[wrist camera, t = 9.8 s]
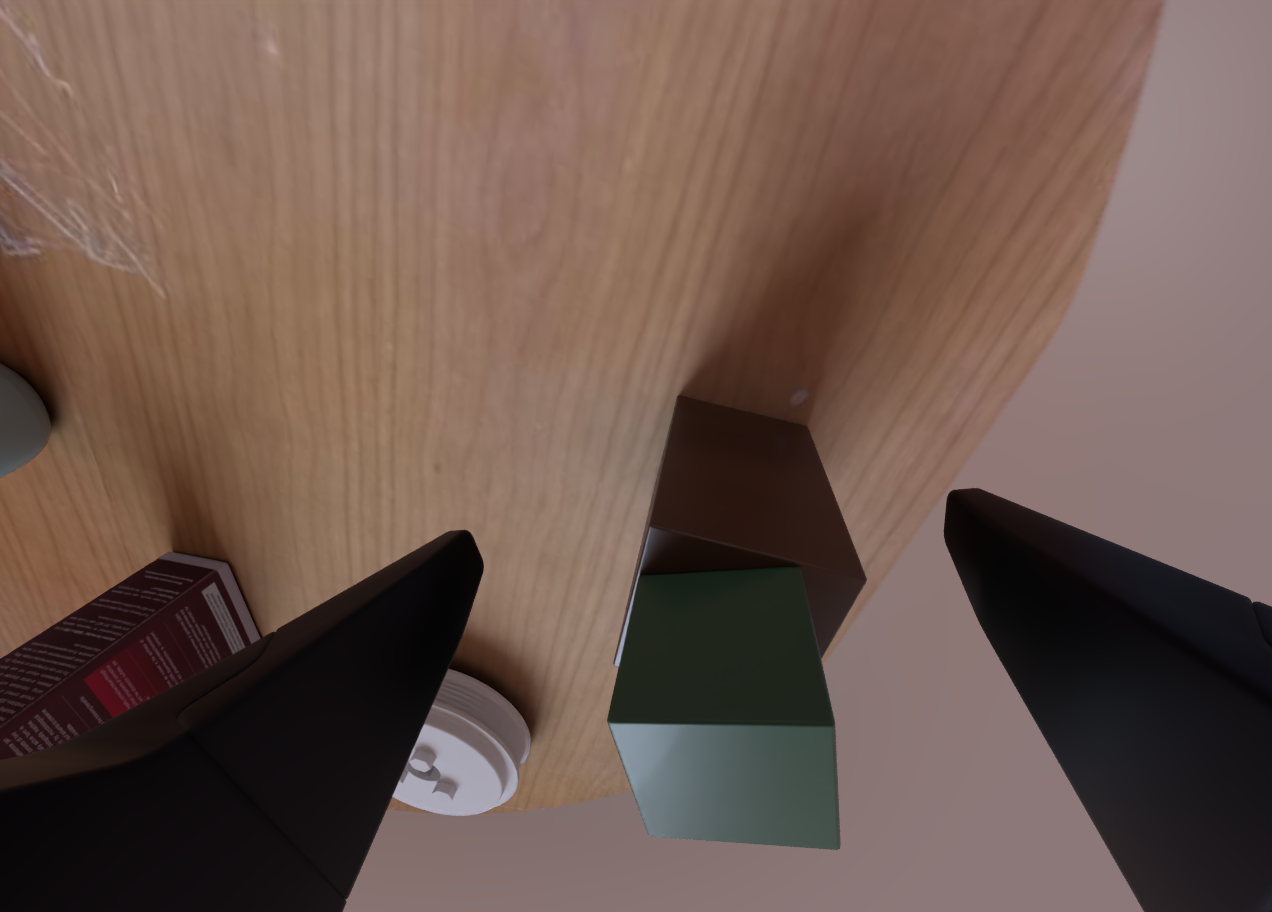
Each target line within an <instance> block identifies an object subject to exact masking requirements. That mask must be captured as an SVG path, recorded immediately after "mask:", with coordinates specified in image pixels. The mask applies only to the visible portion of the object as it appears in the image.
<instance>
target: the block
mask: <svg viewBox="0 0 1272 912" xmlns="http://www.w3.org/2000/svg"><path fill="white" fill-rule="evenodd" d="M607 722H608V725H609V728H610V731H611V734H612V736H613V739H614V742H615V745H616V747H617V750H618V753H619V756H620V758H621V761H622V764H623V767H624V769H625V772H626V775H627V778H628V780H629V783H630V786H631V789H632V791H633V794H634V797H635V800H636V802H637V805H638V808H639V811H640V813H641V816H642V819H643V822H644V825H645V827H646V830H647V832H648V835H649V836H652V837H665V838H679V839H693V840H707V841H722V842H736V843H749V844H763V845H778V846H791V847H805V848H819V849H833V850H837V849H840V825H839V824H840V823H839V800H838V779H837V778H838V777H837V753H836V730H835V720H834V716H833V711H832V707H831V702H830V698H829V693H828V688H827V684H826V679H825V675H824V671H823V666H822V661H821V657H820V652H819V647H818V643H817V638H816V634H815V629H814V625H813V620H812V616H811V611H810V606H809V602H808V597H807V593H806V588H805V584H804V579H803V575H802V570H801V568H800V567H798V566H795V567H778V568H761V569H744V570H726V571H709V572H692V573H675V574H658V575H641V576H639V577H638V582H637V586H636V591H635V595H634V600H633V605H632V609H631V614H630V618H629V623H628V627H627V632H626V637H625V641H624V646H623V650H622V655H621V659H620V664H619V669H618V673H617V678H616V682H615V687H614V691H613V696H612V701H611V705H610V710H609V714H608V719H607Z"/></svg>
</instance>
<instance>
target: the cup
mask: <svg viewBox="0 0 1272 912" xmlns="http://www.w3.org/2000/svg"><path fill="white" fill-rule="evenodd" d="M50 433H51V423H50V418H49V414H48V411H47V409H46V407H45V405H44V403H43V401H42V400H41V398H40V397H39V395H38V394H37V392H36V391H35V390H34V389H33V387H32V386H31V385H30V384H29V383H28V382H27V381H26V380H25V379H23V378H22V377H21V376H20V375H19V374H17V373H16V372H14V371H13V370H11V369H10V368H8V367H6V366H4V365H3V364H1V363H0V478H1V477H3V476H5V475H7V474H9V473H11V472H13V471H15V470H17V469H18V468H20V467H22V466H23V465H25V464H27V463H28V462H30V461H31V460H32V459H33V458H35V457H36V456H37V455H38V454H39V453H40V452H41V451H42V450H43V448H44V447H45V446H46V444H47V442H48V440H49V438H50Z"/></svg>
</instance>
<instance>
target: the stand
mask: <svg viewBox="0 0 1272 912" xmlns="http://www.w3.org/2000/svg"><path fill="white" fill-rule="evenodd" d="M795 566H798V567H800V568H801V570H802V575H803V579H804V584H805V588H806V593H807V597H808V602H809V606H810V611H811V616H812V620H813V625H814V629H815V634H816V638H817V643H818V647H819V652H820V657H821V659H822V657H823V655H824V654H825V652H826V650H827V648H828V647H829V645H830V643H831V642H832V640H833V638H834V636H835V635H836V633H837V631H838V629H839V628H840V626H841V624H842V623H843V621H844V619H845V617H846V616H847V614H848V612H849V610H850V609H851V607H852V605H853V604H854V602H855V600H856V598H857V597H858V595H859V593H860V591H861V590H862V588H863V586H864V585H865V583H866V581H867V578H866V576H865V573H864V571H863V568H862V565H861V563H860V560H859V558H858V555H857V552H856V550H855V547H854V545H853V542H852V540H851V537H850V534H849V532H848V529H847V527H846V524H845V522H844V519H843V516H842V514H841V511H840V509H839V506H838V503H837V501H836V498H835V496H834V493H833V491H832V488H831V485H830V483H829V480H828V478H827V475H826V472H825V470H824V467H823V465H822V462H821V460H820V457H819V454H818V452H817V449H816V447H815V444H814V442H813V439H812V436H811V434H810V431H809V429H808V427H807V426H803V425H799V424H795V423H791V422H786V421H782V420H778V419H774V418H770V417H766V416H761V415H757V414H753V413H749V412H745V411H740V410H736V409H732V408H728V407H724V406H720V405H715V404H711V403H707V402H703V401H699V400H694V399H690V398H686V397H682V396H678V397H677V400H676V404H675V408H674V412H673V416H672V420H671V424H670V428H669V432H668V436H667V440H666V444H665V448H664V451H663V455H662V459H661V463H660V467H659V471H658V475H657V479H656V483H655V487H654V491H653V495H652V499H651V503H650V508H649V512H648V516H647V521H646V525H645V529H644V534H643V538H642V542H641V546H640V551H639V555H638V559H637V564H636V568H635V572H634V577H633V581H632V585H631V589H630V594H629V598H628V602H627V607H626V611H625V615H624V619H623V624H622V628H621V632H620V637H619V641H618V645H617V650H616V654H615V658H614V662H613V664H614V666H616V667H619V664H620V659H621V655H622V650H623V646H624V641H625V637H626V632H627V627H628V623H629V618H630V614H631V609H632V605H633V600H634V595H635V591H636V586H637V582H638V577H639V576H641V575H658V574H675V573H692V572H709V571H726V570H744V569H761V568H778V567H795Z"/></svg>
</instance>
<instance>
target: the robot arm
mask: <svg viewBox="0 0 1272 912" xmlns="http://www.w3.org/2000/svg"><path fill="white" fill-rule="evenodd" d="M944 538H945V543H946V546H947V548H948V550H949V553H950V555H951V557H952V560H953V562H954V565H955V567H956V569H957V572H958V574H959V576H960V579H961V581H962V584H963V586H964V588H965V591H966V593H967V595H968V598H969V600H970V603H971V605H972V607H973V609H974V612H975V614H976V616H977V618H978V621H979V623H980V625H981V627H982V629H983V631H984V632H985V634H986V636H987V638H988V640H989V641H990V643H991V645H992V647H993V648H994V650H995V652H996V654H997V655H998V657H999V659H1000V661H1001V662H1002V664H1003V666H1004V668H1005V669H1006V671H1007V673H1008V675H1009V676H1010V678H1011V680H1012V682H1013V683H1014V685H1015V687H1016V689H1017V690H1018V692H1019V694H1020V696H1021V697H1022V699H1023V701H1024V703H1025V704H1026V706H1027V708H1028V710H1029V711H1030V713H1031V715H1032V717H1033V718H1034V720H1035V722H1036V724H1037V725H1038V727H1039V729H1040V730H1041V732H1042V734H1043V736H1044V738H1045V739H1046V741H1047V743H1048V745H1049V746H1050V748H1051V750H1052V751H1053V753H1054V755H1055V757H1056V758H1057V760H1058V762H1059V763H1060V765H1061V767H1062V769H1063V771H1064V772H1065V774H1066V776H1067V778H1068V779H1069V781H1070V783H1071V785H1072V786H1073V788H1074V790H1075V792H1076V793H1077V795H1078V797H1079V799H1080V800H1081V802H1082V804H1083V806H1084V807H1085V809H1086V811H1087V813H1088V814H1089V816H1090V818H1091V820H1092V821H1093V823H1094V825H1095V827H1096V828H1097V830H1098V832H1099V834H1100V835H1101V837H1102V839H1103V840H1104V842H1105V844H1106V846H1107V848H1108V849H1109V851H1110V853H1111V854H1112V856H1113V858H1114V860H1115V862H1116V863H1117V865H1118V867H1119V869H1120V870H1121V872H1122V874H1123V876H1124V877H1125V879H1126V881H1127V882H1128V884H1129V886H1130V888H1131V890H1132V891H1133V893H1134V895H1135V897H1136V898H1137V900H1138V902H1139V904H1140V905H1141V907H1142V909H1143V911H1144V912H1272V607H1271V606H1268V605H1266V604H1264V603H1261V602H1253V603H1252V602H1251V600H1250V599H1249V598H1248V597H1246V596H1243V595H1241V594H1238V593H1236V592H1234V591H1231V590H1229V589H1226V588H1224V587H1221V586H1219V585H1216V584H1214V583H1211V582H1209V581H1206V580H1204V579H1201V578H1199V577H1196V576H1194V575H1192V574H1189V573H1187V572H1184V571H1182V570H1179V569H1177V568H1174V567H1172V566H1169V565H1167V564H1164V563H1162V562H1159V561H1157V560H1154V559H1152V558H1150V557H1147V556H1145V555H1142V554H1139V553H1137V552H1135V551H1132V550H1130V549H1127V548H1125V547H1122V546H1120V545H1117V544H1115V543H1112V542H1110V541H1107V540H1105V539H1102V538H1100V537H1098V536H1095V535H1093V534H1090V533H1088V532H1085V531H1083V530H1080V529H1078V528H1075V527H1073V526H1071V525H1068V524H1066V523H1063V522H1061V521H1058V520H1055V519H1053V518H1051V517H1048V516H1046V515H1043V514H1041V513H1038V512H1036V511H1033V510H1031V509H1028V508H1026V507H1023V506H1021V505H1019V504H1016V503H1014V502H1011V501H1009V500H1006V499H1004V498H1001V497H999V496H996V495H994V494H991V493H989V492H986V491H984V490H982V489H979V488H971V489H959V490H952V491H951V492H950V493H949V494H948V497H947V503H946V513H945V523H944ZM483 570H484V563H483V559H482V557H481V554H480V552H479V550H478V547H477V545H476V543H475V540H474V538H473V536H472V534H471V533H470V532H469V531H467V530H456V531H449V532H446V533H445V534H443V535H441V536H439V537H438V538H436V539H434V540H432V541H431V542H429V543H427V544H425V545H424V546H422V547H420V548H418V549H417V550H415V551H413V552H411V553H410V554H408V555H406V556H404V557H403V558H401V559H399V560H397V561H396V562H394V563H392V564H390V565H389V566H387V567H385V568H383V569H382V570H380V571H378V572H376V573H375V574H373V575H371V576H369V577H368V578H366V579H364V580H362V581H361V582H359V583H357V584H355V585H354V586H352V587H350V588H348V589H347V590H345V591H343V592H341V593H340V594H338V595H336V596H334V597H333V598H331V599H329V600H327V601H326V602H324V603H322V604H320V605H319V606H317V607H315V608H313V609H312V610H310V611H308V612H306V613H305V614H303V615H301V616H299V617H298V618H296V619H294V620H292V621H291V622H289V623H287V624H285V625H284V626H282V627H280V628H278V629H277V631H276V632H271V633H270V634H268V635H266V636H264V637H263V638H261V639H259V640H257V641H256V642H254V643H252V644H250V645H248V646H247V647H245V648H243V649H241V650H240V651H238V652H236V653H234V654H232V655H231V656H229V657H227V658H225V659H223V660H222V661H220V662H218V663H216V664H214V665H212V666H211V667H209V668H207V669H205V670H203V671H201V672H199V673H197V674H196V675H194V676H192V677H190V678H188V679H186V680H184V681H183V682H181V683H179V684H177V685H175V686H173V687H171V688H169V689H167V690H165V691H164V692H162V693H160V694H158V695H156V696H154V697H152V698H150V699H148V700H146V701H144V702H143V703H141V704H139V705H137V706H135V707H133V708H131V709H129V710H127V711H125V712H124V713H122V714H120V715H118V716H116V717H114V718H112V719H110V720H108V721H106V722H104V723H103V724H101V725H99V726H97V727H95V728H93V729H91V730H89V731H87V732H85V733H83V734H81V735H79V736H77V737H75V738H73V739H70V740H68V741H65V742H63V743H60V744H58V745H55V746H52V747H49V748H46V749H43V750H40V751H37V752H34V753H30V754H26V755H22V756H18V757H13V758H8V759H2V760H0V912H342V911H343V909H344V907H345V904H346V900H345V899H347V898H348V897H349V895H350V892H351V890H352V888H353V886H354V883H355V881H356V879H357V876H358V874H359V872H360V869H361V867H362V865H363V863H364V860H365V858H366V856H367V854H368V851H369V849H370V847H371V844H372V842H373V840H374V838H375V835H376V833H377V831H378V828H379V826H380V824H381V822H382V819H383V817H384V815H385V812H386V810H387V808H388V806H389V803H390V801H391V799H392V796H393V794H394V792H395V790H396V787H397V785H398V783H399V780H400V778H401V776H402V774H403V771H404V769H405V767H406V764H407V762H408V760H409V758H410V755H411V753H412V751H413V748H414V746H415V744H416V742H417V739H418V737H419V735H420V732H421V730H422V728H423V726H424V723H425V721H426V719H427V716H428V714H429V712H430V710H431V707H432V705H433V703H434V700H435V698H436V696H437V694H438V691H439V689H440V687H441V684H442V682H443V680H444V678H445V675H446V673H447V671H448V668H449V666H450V664H451V662H452V659H453V657H454V655H455V652H456V650H457V648H458V645H459V643H460V640H461V638H462V635H463V633H464V630H465V627H466V624H467V621H468V618H469V615H470V612H471V608H472V605H473V602H474V599H475V596H476V593H477V590H478V587H479V584H480V581H481V578H482V574H483Z"/></svg>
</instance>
